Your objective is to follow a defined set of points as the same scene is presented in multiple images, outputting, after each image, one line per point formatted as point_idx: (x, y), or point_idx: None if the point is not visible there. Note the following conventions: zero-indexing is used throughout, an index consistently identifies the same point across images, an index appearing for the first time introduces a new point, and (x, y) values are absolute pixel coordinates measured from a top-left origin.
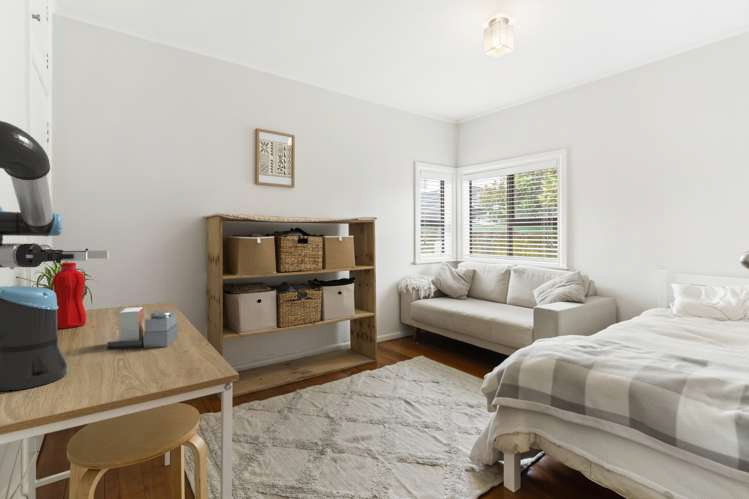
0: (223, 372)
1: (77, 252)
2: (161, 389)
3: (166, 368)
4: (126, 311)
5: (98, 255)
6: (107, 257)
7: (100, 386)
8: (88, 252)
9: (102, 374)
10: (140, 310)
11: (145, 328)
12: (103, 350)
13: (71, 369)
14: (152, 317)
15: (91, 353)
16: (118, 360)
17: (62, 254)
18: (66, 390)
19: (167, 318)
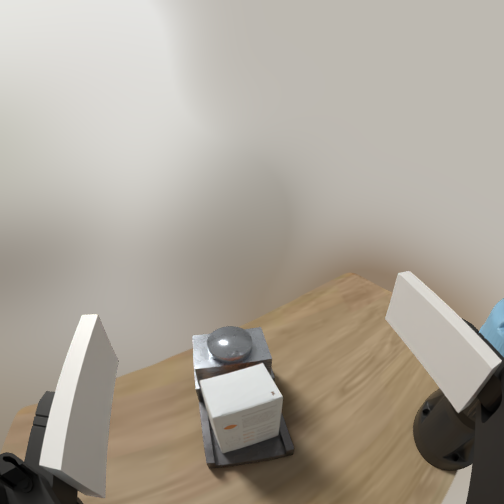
0: (346, 277)
1: (438, 301)
2: None
3: (356, 320)
4: (268, 386)
5: (99, 398)
6: (116, 357)
7: None
8: (76, 458)
9: (402, 367)
10: (242, 369)
11: (270, 371)
12: (300, 457)
13: (405, 419)
14: (248, 354)
15: (325, 463)
16: (350, 390)
17: (496, 352)
18: None
19: (253, 328)
